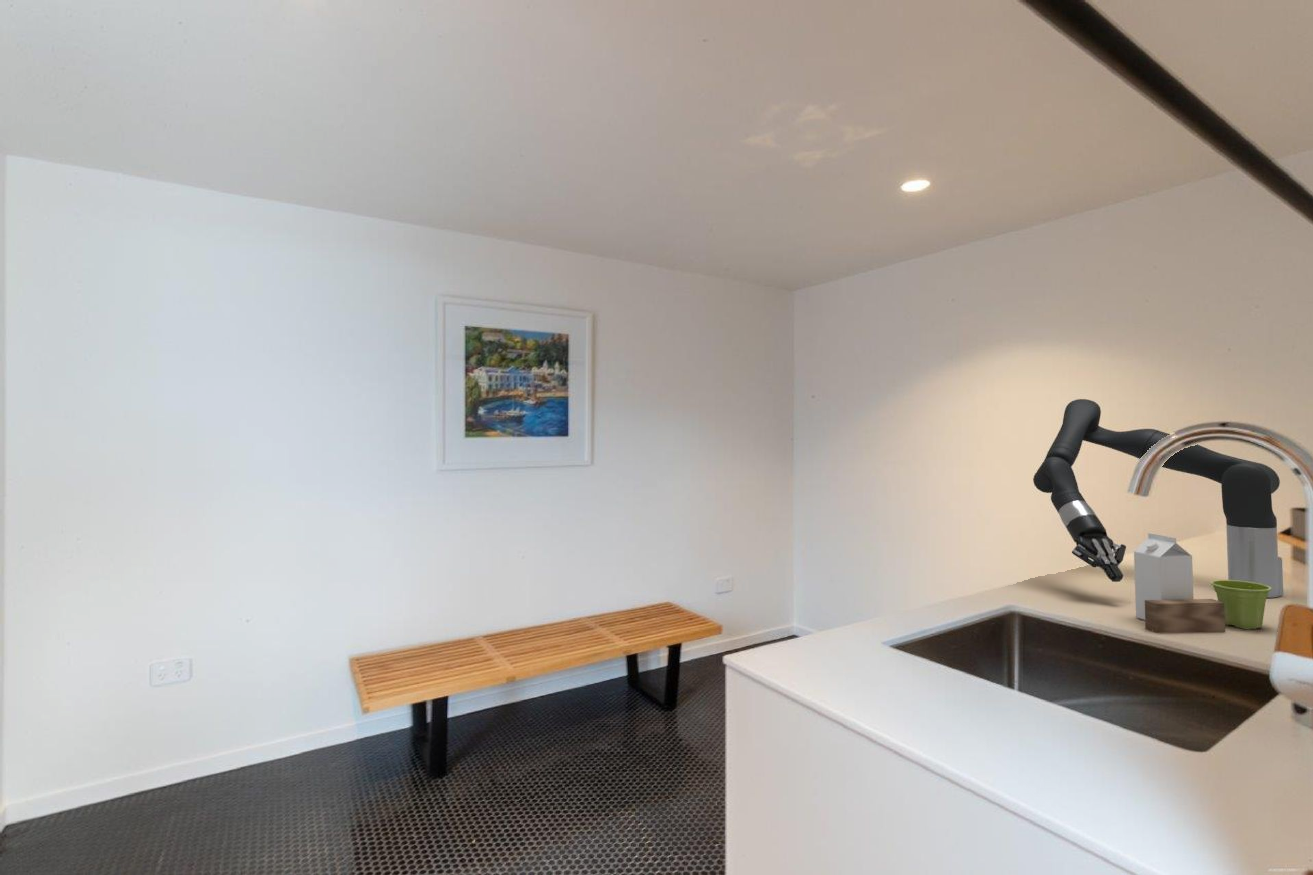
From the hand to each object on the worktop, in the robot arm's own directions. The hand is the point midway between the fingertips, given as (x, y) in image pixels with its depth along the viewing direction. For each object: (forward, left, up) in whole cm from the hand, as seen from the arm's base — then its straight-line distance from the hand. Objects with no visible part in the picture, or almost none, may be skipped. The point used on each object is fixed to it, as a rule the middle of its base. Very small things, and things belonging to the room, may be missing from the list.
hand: (1117, 579), depth 147 cm
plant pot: (-14, +16, -7) cm, 22 cm away
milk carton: (-1, +13, -7) cm, 14 cm away
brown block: (0, +19, -6) cm, 20 cm away
